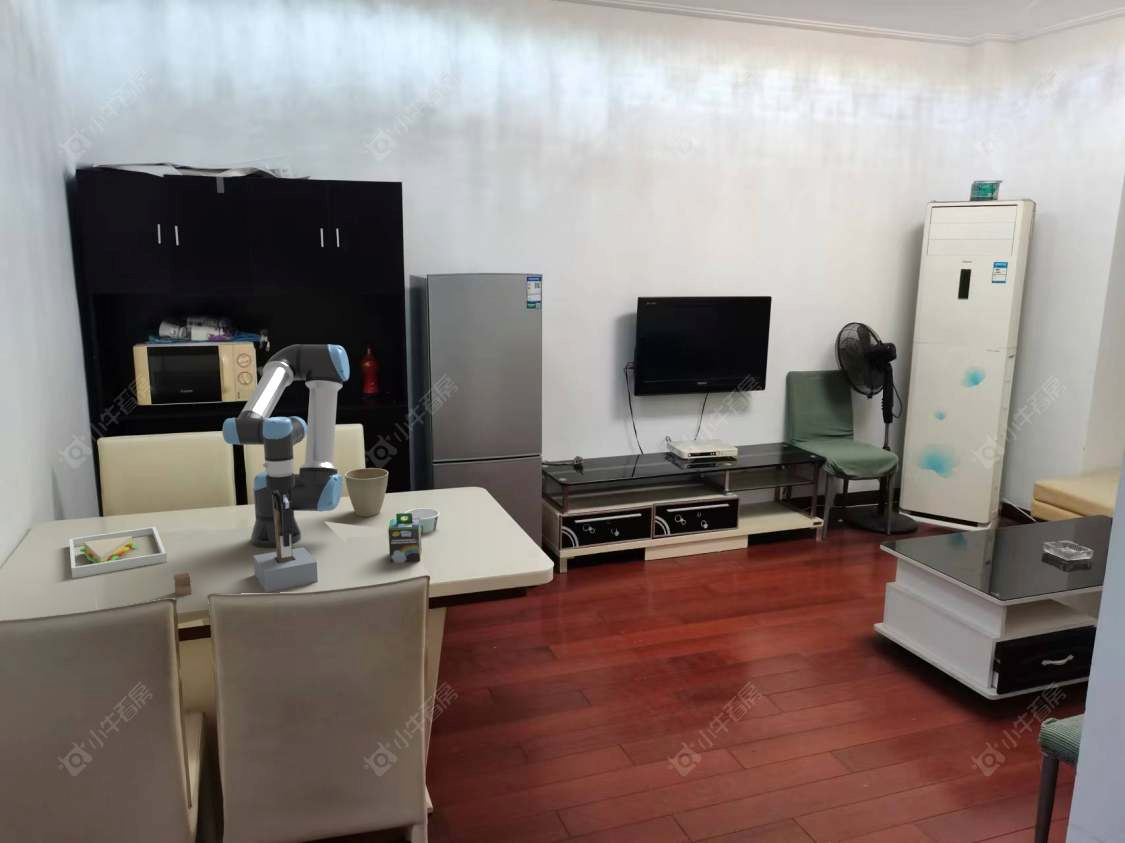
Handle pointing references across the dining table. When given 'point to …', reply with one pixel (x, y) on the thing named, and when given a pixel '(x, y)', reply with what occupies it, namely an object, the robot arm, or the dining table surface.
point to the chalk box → (405, 539)
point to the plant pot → (366, 490)
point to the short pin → (182, 584)
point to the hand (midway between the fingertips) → (284, 554)
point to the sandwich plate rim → (117, 564)
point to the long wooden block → (278, 546)
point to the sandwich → (107, 549)
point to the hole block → (285, 570)
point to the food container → (425, 518)
